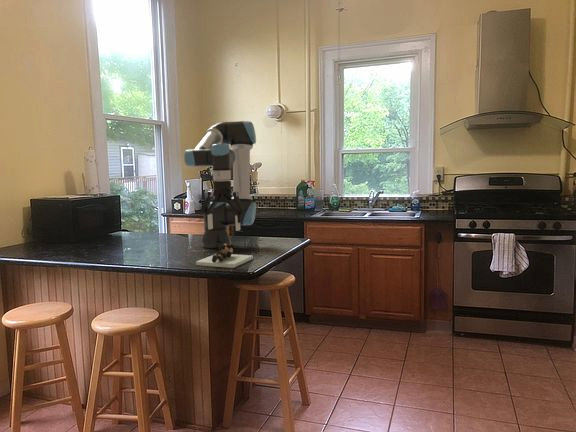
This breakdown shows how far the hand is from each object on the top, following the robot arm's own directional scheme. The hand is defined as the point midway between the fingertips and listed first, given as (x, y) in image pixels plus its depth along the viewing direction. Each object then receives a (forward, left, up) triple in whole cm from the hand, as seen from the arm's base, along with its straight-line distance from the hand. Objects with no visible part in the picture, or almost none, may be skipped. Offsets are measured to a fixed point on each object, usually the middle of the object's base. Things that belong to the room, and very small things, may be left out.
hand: (224, 229), depth 196 cm
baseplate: (0, 0, -14) cm, 14 cm away
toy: (+2, 0, -13) cm, 13 cm away
